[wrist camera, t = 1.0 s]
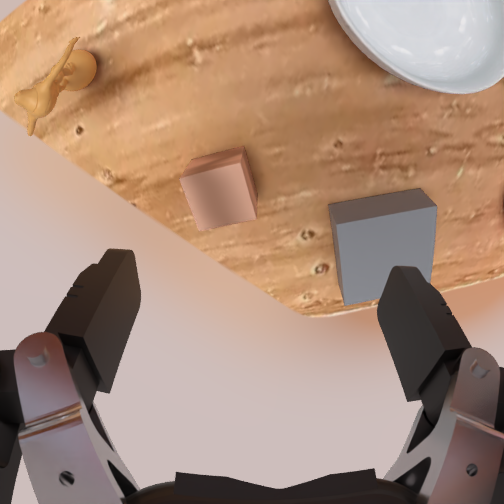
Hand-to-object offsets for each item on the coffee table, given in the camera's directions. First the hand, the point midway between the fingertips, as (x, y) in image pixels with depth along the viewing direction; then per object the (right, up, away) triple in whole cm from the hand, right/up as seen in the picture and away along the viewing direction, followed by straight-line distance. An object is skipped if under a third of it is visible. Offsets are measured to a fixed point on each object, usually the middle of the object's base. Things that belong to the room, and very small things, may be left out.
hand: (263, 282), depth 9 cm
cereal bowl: (+13, +23, +9) cm, 28 cm away
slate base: (+13, +2, +23) cm, 26 cm away
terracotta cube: (-3, +8, +20) cm, 21 cm away
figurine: (-15, +18, +14) cm, 27 cm away
